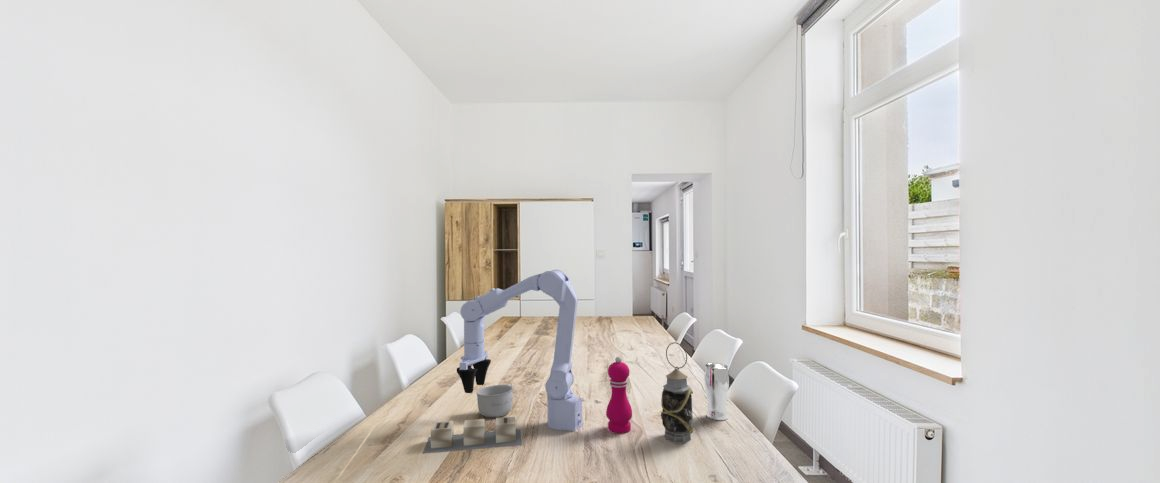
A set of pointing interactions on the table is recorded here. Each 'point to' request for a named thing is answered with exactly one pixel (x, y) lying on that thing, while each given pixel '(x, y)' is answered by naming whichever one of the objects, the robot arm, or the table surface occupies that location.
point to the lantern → (677, 406)
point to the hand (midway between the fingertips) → (474, 388)
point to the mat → (459, 445)
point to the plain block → (474, 432)
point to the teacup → (495, 400)
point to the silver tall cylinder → (716, 390)
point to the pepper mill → (619, 398)
